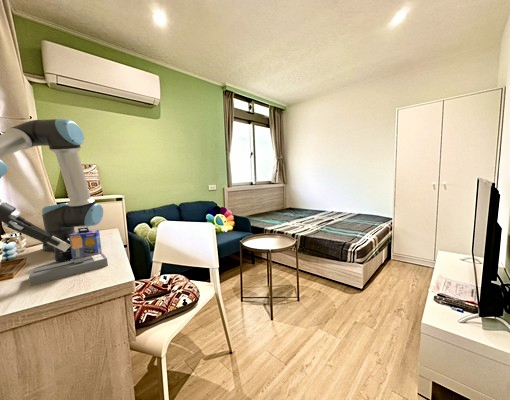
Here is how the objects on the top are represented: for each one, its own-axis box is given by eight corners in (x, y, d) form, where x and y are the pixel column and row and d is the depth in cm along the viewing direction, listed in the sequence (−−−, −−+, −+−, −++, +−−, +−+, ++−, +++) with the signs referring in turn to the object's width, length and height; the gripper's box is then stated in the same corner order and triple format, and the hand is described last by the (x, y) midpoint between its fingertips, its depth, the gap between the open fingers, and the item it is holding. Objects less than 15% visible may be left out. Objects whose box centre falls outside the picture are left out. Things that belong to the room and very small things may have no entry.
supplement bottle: (63, 263, 92) (60, 235, 91) (51, 262, 94) (47, 235, 93) (79, 257, 99) (76, 231, 98) (67, 256, 101) (64, 231, 99)
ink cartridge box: (71, 263, 92) (67, 229, 91) (76, 258, 98) (72, 227, 96) (99, 258, 96) (95, 226, 95) (102, 254, 101) (98, 224, 100)
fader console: (30, 286, 73) (28, 277, 72) (31, 277, 79) (30, 269, 79) (107, 265, 88) (106, 258, 88) (103, 260, 94) (102, 253, 94)
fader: (74, 264, 82) (71, 238, 81) (73, 260, 86) (69, 236, 85) (84, 261, 84) (81, 237, 83) (82, 257, 88) (79, 234, 87)
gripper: (-16, 217, 72) (58, 253, 85) (-26, 222, 62) (59, 261, 75) (6, 200, 75) (74, 236, 88) (0, 202, 65) (77, 243, 79)
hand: (67, 248), depth 82 cm, fingers closed
